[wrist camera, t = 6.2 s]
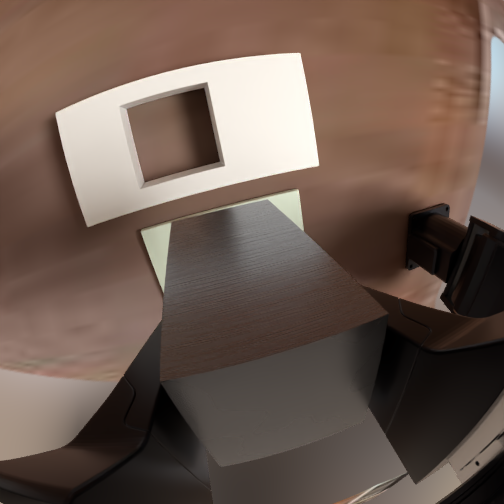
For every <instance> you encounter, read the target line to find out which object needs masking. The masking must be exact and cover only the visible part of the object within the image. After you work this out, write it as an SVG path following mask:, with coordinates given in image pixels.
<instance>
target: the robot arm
mask: <svg viewBox="0 0 504 504" xmlns="http://www.w3.org/2000/svg"><path fill="white" fill-rule="evenodd" d="M449 209H450V207H449V205H448V204H442V205H439V206H435V207H432V208H428V209H425V210H422V211H418V212H415V213H412V214H411V215H410V217H409V229H408V245H407V257H406V269H408V270H412V269H415V268H417V267H419V266H420V267H422V268H423V269H424V270H426V271H427V272H429V273H430V274H431V275H435V276H437V277H438V278H439V279H441V280H442V281H443V282H445V283H447V285H446V287H445V290H444V292H443V293H442V295H441V296H440V299H441V300H442V301H443V302H444V304H445V305H446V307H447V308H448V309H449V310H450V311H451V313H449V312H445V311H441V310H437V309H433V308H430V307H426V306H422V305H419V304H416V303H413V302H410V301H407V300H404V299H401V298H399V299H398V297H395V296H392V295H389V294H386V293H383V292H380V291H377V290H374V289H371V288H368V287H365V286H362V285H361V286H362V287H363V288H364V289H365V290H366V291H367V292H368V293H369V294H370V295H371V296H372V297H373V298H374V299H375V300H376V301H377V302H378V303H379V304H380V305H381V306H382V307H383V308H384V309H385V310H386V311H387V312H388V313H389V316H388V322H387V328H386V333H385V339H384V344H383V349H382V354H381V358H380V363H379V367H378V371H377V376H376V380H375V384H374V388H373V391H372V395H371V399H370V402H369V406H368V407H369V409H370V410H371V412H372V414H373V415H374V417H375V418H376V420H377V422H378V423H379V425H380V427H381V428H382V430H383V432H384V433H385V435H386V437H387V438H388V440H389V442H390V443H391V445H392V447H393V448H394V450H395V452H396V453H397V455H398V457H399V458H400V460H401V462H402V463H403V465H404V467H405V468H406V470H407V472H408V473H409V475H410V477H411V479H412V480H413V482H414V483H415V484H418V483H419V482H421V481H422V480H424V479H426V478H427V477H429V476H430V475H431V474H433V473H434V472H436V471H437V470H439V469H440V468H441V467H443V466H444V465H446V464H447V463H448V462H449V464H450V465H451V466H452V468H453V469H454V471H455V472H456V474H457V477H458V479H459V480H460V482H461V483H462V484H461V485H460V486H459V487H458V488H456V489H455V490H454V491H452V492H451V493H450V494H448V495H447V496H445V497H444V498H443V499H441V500H440V501H438V502H437V503H436V504H504V230H503V229H501V228H499V227H497V226H495V225H493V224H491V223H488V222H486V221H484V220H481V219H479V218H476V217H474V216H471V217H470V220H469V221H470V223H469V226H468V227H466V226H464V225H462V224H460V223H458V222H456V221H454V220H452V219H450V218H449ZM413 218H414V219H413ZM161 330H162V320H161V322H160V323H159V325H158V326H157V327H156V329H155V330H154V332H153V333H152V335H151V336H150V337H149V339H148V340H147V342H146V343H145V345H144V346H143V347H142V349H141V350H140V352H139V353H138V355H137V356H136V358H135V359H134V360H133V362H132V363H131V365H130V366H129V368H128V369H127V371H126V372H125V374H124V376H123V377H122V378H121V379H120V381H119V382H118V384H117V385H116V387H115V388H114V390H113V391H112V393H111V394H110V395H109V397H108V398H107V399H106V400H105V402H104V403H103V404H102V405H101V407H100V408H99V409H98V411H97V412H96V413H95V414H94V415H93V416H92V418H91V419H90V420H89V421H88V423H87V424H86V425H85V426H84V428H83V429H82V430H81V431H80V432H79V434H78V435H77V436H76V437H75V438H74V439H73V440H72V441H71V442H70V443H68V444H67V445H65V446H63V447H61V448H58V449H55V450H51V451H47V452H44V453H40V454H35V455H31V456H26V457H21V458H16V459H11V460H4V461H0V502H1V503H3V504H213V498H212V491H211V485H210V478H209V470H208V461H207V452H206V448H205V446H204V445H203V444H202V443H201V441H200V440H199V439H198V437H197V436H196V435H195V433H194V432H193V430H192V429H191V428H190V426H189V425H188V423H187V422H186V421H185V419H184V418H183V416H182V415H181V413H180V412H179V410H178V409H177V407H176V406H175V404H174V403H173V401H172V400H171V398H170V397H169V395H168V394H167V392H166V390H165V389H164V387H163V386H162V384H161V382H160V354H161Z"/></svg>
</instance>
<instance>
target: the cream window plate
mask: <svg viewBox="0 0 504 504" xmlns="http://www.w3.org/2000/svg"><path fill="white" fill-rule="evenodd" d="M201 88H204V89H205V93H206V98H207V103H208V108H209V112H210V117H211V122H212V127H213V131H214V136H215V141H216V145H217V150H218V154H219V159H220V162H217V163H213V164H209V165H205V166H201V167H197V168H194V169H190V170H186V171H182V172H179V173H175V174H172V175H168V176H165V177H161V178H158V179H155V180H151V181H148V182H144V178H143V175H142V171H141V167H140V163H139V160H138V156H137V152H136V148H135V144H134V140H133V136H132V131H131V127H130V123H129V118H128V114H127V109H128V108H131V107H134V106H137V105H140V104H143V103H147V102H150V101H153V100H157V99H161V98H164V97H168V96H172V95H176V94H180V93H184V92H188V91H192V90H197V89H201ZM56 118H57V123H58V128H59V133H60V137H61V141H62V146H63V150H64V154H65V157H66V161H67V165H68V169H69V172H70V176H71V179H72V182H73V186H74V189H75V192H76V195H77V198H78V201H79V204H80V207H81V210H82V213H83V216H84V219H85V221H86V224H87V227H90V226H93V225H95V224H98V223H101V222H104V221H107V220H110V219H113V218H116V217H119V216H122V215H125V214H128V213H132V212H135V211H138V210H141V209H144V208H148V207H151V206H154V205H158V204H161V203H164V202H168V201H171V200H175V199H178V198H182V197H185V196H189V195H193V194H196V193H200V192H204V191H208V190H212V189H216V188H219V187H223V186H227V185H231V184H236V183H240V182H244V181H248V180H253V179H257V178H261V177H266V176H270V175H275V174H280V173H284V172H289V171H294V170H299V169H304V168H309V167H315V166H319V161H318V154H317V146H316V139H315V133H314V126H313V120H312V114H311V108H310V102H309V96H308V91H307V85H306V80H305V75H304V70H303V65H302V60H301V55H300V53H289V54H273V55H261V56H252V57H243V58H236V59H229V60H222V61H216V62H211V63H205V64H200V65H195V66H190V67H186V68H181V69H177V70H173V71H169V72H165V73H161V74H158V75H154V76H150V77H147V78H144V79H140V80H137V81H134V82H131V83H128V84H125V85H122V86H119V87H116V88H113V89H111V90H108V91H105V92H103V93H100V94H97V95H95V96H92V97H90V98H87V99H85V100H83V101H80V102H78V103H76V104H73V105H71V106H69V107H67V108H65V109H63V110H60V111H58V112H56Z"/></svg>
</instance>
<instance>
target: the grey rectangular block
mask: <svg viewBox="0 0 504 504" xmlns="http://www.w3.org/2000/svg"><path fill="white" fill-rule="evenodd" d="M388 316H389V313H388V312H387V311H386V310H385V309H384V308H383V307H382V306H381V305H380V304H379V303H378V302H377V301H376V300H375V299H374V298H373V297H372V296H371V295H370V294H369V293H368V292H367V291H366V290H365V289H364V288H363V287H362V286H361V285H360V284H359V283H358V282H357V281H356V280H355V279H354V278H352V277H351V276H350V275H349V274H348V273H347V272H346V271H345V270H344V269H343V268H342V267H341V266H340V265H339V264H338V263H337V262H336V261H335V260H334V259H333V258H332V257H331V256H329V255H328V254H327V253H326V252H325V251H324V250H323V249H322V248H321V247H320V246H319V245H318V244H317V243H316V242H315V241H313V240H312V239H311V238H310V237H309V236H308V235H307V234H306V233H305V232H304V231H303V230H301V229H300V228H299V227H298V226H297V225H296V224H295V223H294V222H293V221H292V220H290V219H289V218H288V217H287V216H286V215H285V214H284V213H283V212H281V211H280V210H279V209H278V208H277V207H276V206H275V205H274V204H272V203H271V202H270V201H269V200H268V199H266V200H262V201H257V202H253V203H248V204H244V205H239V206H235V207H230V208H226V209H222V210H218V211H213V212H209V213H205V214H201V215H197V216H193V217H189V218H185V219H181V220H177V221H173V222H171V229H170V237H169V246H168V255H167V264H166V275H165V286H164V298H163V312H162V330H161V354H160V382H161V384H162V386H163V387H164V389H165V390H166V392H167V394H168V395H169V397H170V398H171V400H172V401H173V403H174V404H175V406H176V407H177V409H178V410H179V412H180V413H181V415H182V416H183V418H184V419H185V421H186V422H187V423H188V425H189V426H190V428H191V429H192V430H193V432H194V433H195V435H196V436H197V437H198V439H199V440H200V441H201V443H202V444H203V445H204V446H205V448H206V449H207V450H208V452H209V453H210V454H211V455H212V457H213V458H214V459H215V460H216V462H217V463H218V464H219V465H220V466H221V467H223V466H228V465H233V464H237V463H242V462H247V461H251V460H255V459H259V458H263V457H267V456H270V455H274V454H277V453H281V452H285V451H288V450H291V449H294V448H297V447H301V446H304V445H307V444H309V443H312V442H315V441H318V440H320V439H323V438H326V437H328V436H331V435H334V434H336V433H339V432H341V431H343V430H346V429H348V428H350V427H353V426H355V425H357V424H360V423H362V422H363V421H364V419H365V416H366V412H367V409H368V406H369V402H370V399H371V395H372V391H373V388H374V384H375V380H376V376H377V371H378V367H379V363H380V358H381V354H382V349H383V344H384V339H385V333H386V328H387V322H388Z"/></svg>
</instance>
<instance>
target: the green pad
mask: <svg viewBox="0 0 504 504" xmlns="http://www.w3.org/2000/svg"><path fill="white" fill-rule="evenodd" d="M266 199H268V200H269V201H270V202H271V203H272V204H274V205H275V206H276V207H277V208H278V209H279V210H280V211H281V212H283V213H284V214H285V215H286V216H287V217H288V218H289V219H290V220H292V221H293V222H294V223H295V224H296V225H297V226H298V227H299V228H300V229H301V230H303V231H304V229H303V221H302V213H301V205H300V197H299V190H298V189H292V190H288V191H283V192H279V193H275V194H270V195H266V196H262V197H258V198H254V199H250V200H246V201H242V202H238V203H234V204H230V205H226V206H222V207H218V208H214V209H211V210H207V211H203V212H200V213H196V214H192V215H189V216H185V217H181V218H178V219H174V220H171V221H167V222H164V223H161V224H157V225H154V226H150V227H147V228H144V229H141V234H142V237H143V239H144V242H145V245H146V248H147V251H148V253H149V256H150V259H151V262H152V264H153V267H154V269H155V272H156V275H157V277H158V280H159V282H160V285H161V287H162V290H163V292H164V286H165V275H166V264H167V255H168V246H169V237H170V229H171V222H173V221H177V220H181V219H185V218H189V217H193V216H197V215H201V214H205V213H209V212H213V211H218V210H222V209H226V208H230V207H235V206H239V205H244V204H248V203H253V202H257V201H262V200H266Z"/></svg>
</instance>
